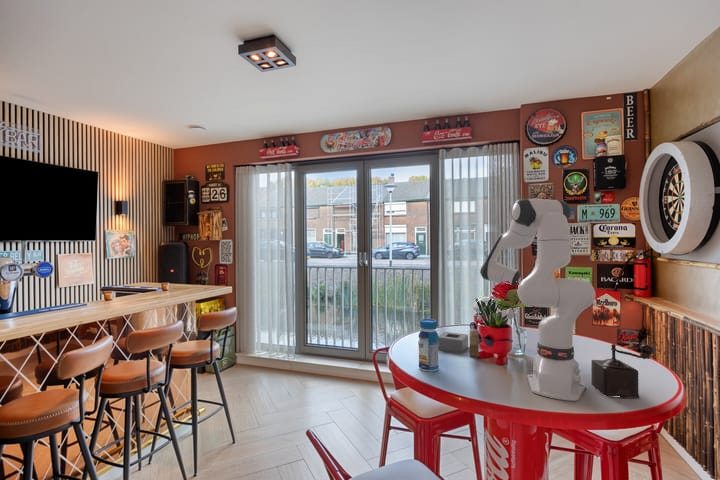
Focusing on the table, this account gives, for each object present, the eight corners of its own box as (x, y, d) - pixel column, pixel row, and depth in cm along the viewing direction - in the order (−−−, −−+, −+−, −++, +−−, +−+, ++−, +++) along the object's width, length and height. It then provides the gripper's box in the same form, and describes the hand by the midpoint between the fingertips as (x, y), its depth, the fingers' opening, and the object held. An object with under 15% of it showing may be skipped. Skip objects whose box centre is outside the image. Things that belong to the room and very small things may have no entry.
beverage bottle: (439, 372, 142) (439, 323, 142) (418, 371, 143) (417, 322, 144) (438, 365, 150) (438, 318, 150) (418, 364, 152) (418, 317, 152)
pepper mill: (606, 397, 119) (606, 344, 119) (590, 384, 130) (590, 335, 130) (658, 400, 116) (657, 346, 117) (637, 387, 127) (636, 337, 127)
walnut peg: (477, 358, 159) (477, 331, 159) (468, 357, 161) (468, 330, 161) (479, 355, 163) (479, 329, 163) (470, 354, 165) (470, 328, 165)
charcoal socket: (462, 353, 167) (462, 340, 167) (437, 349, 173) (437, 337, 173) (468, 346, 177) (468, 334, 177) (444, 343, 183) (444, 331, 183)
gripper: (478, 292, 180) (466, 313, 174) (515, 297, 163) (502, 321, 157) (484, 300, 182) (472, 321, 177) (521, 306, 165) (508, 330, 160)
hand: (486, 321), depth 167 cm, fingers open, 8 cm apart
